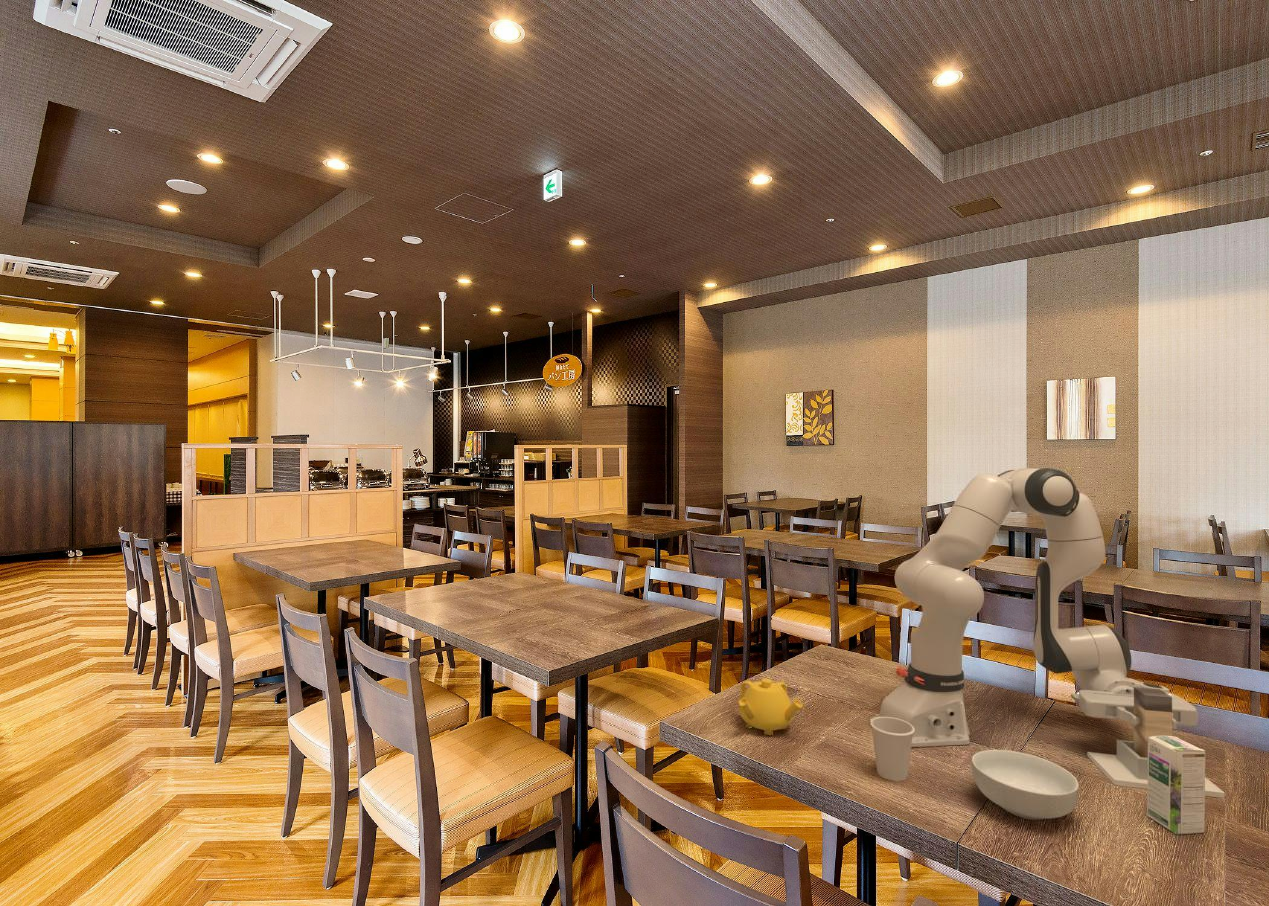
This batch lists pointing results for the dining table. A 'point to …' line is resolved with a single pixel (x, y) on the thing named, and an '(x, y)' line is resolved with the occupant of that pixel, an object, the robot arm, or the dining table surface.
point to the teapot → (767, 705)
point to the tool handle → (1151, 717)
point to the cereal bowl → (1025, 784)
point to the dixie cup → (892, 747)
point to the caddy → (1133, 768)
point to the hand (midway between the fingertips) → (1155, 723)
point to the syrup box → (1176, 784)
